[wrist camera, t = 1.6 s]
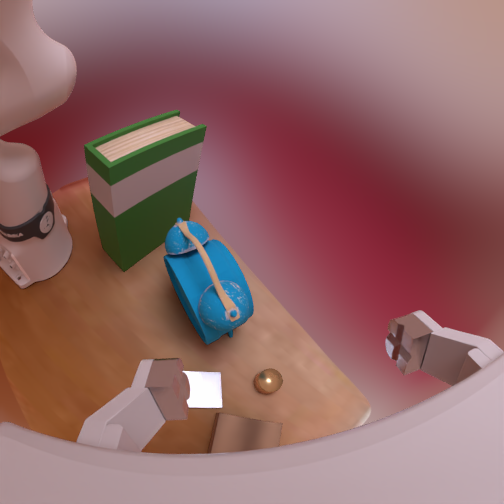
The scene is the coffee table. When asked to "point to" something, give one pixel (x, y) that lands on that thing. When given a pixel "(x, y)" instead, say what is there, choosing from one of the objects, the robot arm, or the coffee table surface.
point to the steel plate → (204, 389)
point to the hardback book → (143, 183)
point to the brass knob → (268, 381)
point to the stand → (243, 434)
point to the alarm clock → (206, 281)
